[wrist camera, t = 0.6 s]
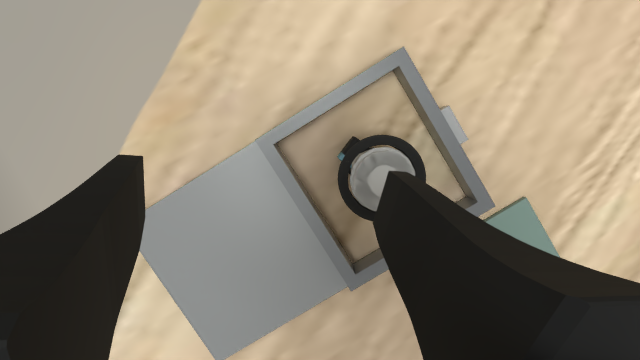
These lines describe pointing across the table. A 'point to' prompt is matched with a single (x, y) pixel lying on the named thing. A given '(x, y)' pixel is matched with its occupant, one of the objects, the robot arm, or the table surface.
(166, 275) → the equipment case
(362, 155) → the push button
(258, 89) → the table surface
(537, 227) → the mat
